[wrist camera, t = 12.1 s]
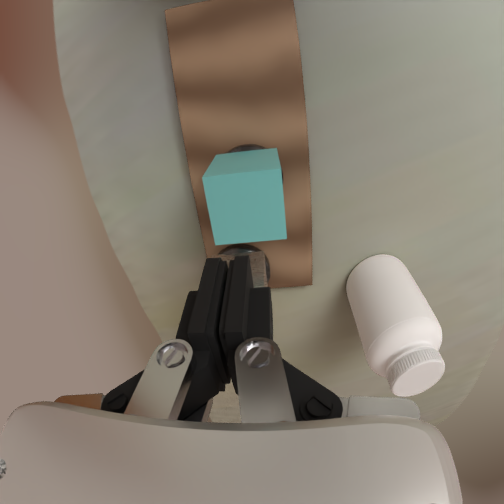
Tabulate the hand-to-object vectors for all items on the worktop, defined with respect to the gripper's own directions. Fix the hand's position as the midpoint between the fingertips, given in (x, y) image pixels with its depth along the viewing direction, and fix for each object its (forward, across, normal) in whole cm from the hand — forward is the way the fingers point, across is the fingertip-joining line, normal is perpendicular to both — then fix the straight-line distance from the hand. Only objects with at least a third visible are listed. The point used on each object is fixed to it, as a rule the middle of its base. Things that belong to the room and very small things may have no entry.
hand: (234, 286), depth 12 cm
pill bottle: (+18, -13, +15) cm, 27 cm away
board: (+18, 0, -1) cm, 18 cm away
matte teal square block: (+16, 0, +1) cm, 16 cm away
